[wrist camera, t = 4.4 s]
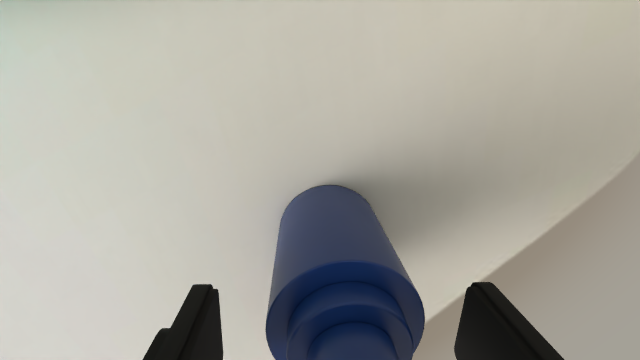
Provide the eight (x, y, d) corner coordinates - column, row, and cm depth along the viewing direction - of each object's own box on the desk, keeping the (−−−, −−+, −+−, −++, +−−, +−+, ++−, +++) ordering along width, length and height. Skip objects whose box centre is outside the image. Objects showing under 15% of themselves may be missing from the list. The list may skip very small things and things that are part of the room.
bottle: (380, 185, 16) (526, 380, 6) (371, 272, 18) (473, 548, 7) (279, 183, 16) (237, 389, 5) (279, 272, 17) (248, 563, 7)
